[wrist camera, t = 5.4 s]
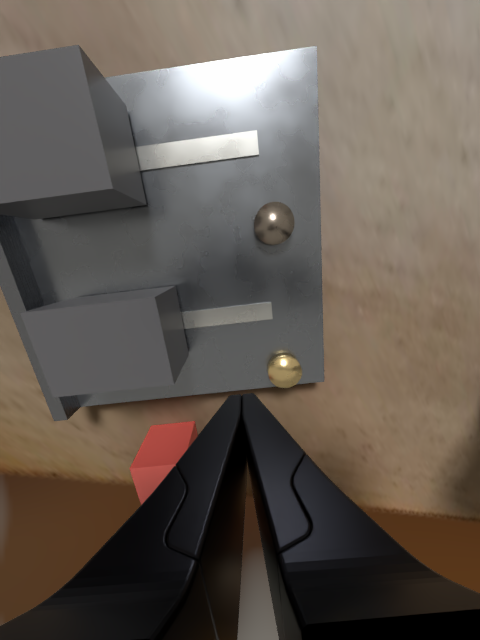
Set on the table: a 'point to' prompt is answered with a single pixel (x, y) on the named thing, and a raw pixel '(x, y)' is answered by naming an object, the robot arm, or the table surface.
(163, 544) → the robot arm
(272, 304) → the breaker panel
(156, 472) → the cap
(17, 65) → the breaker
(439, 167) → the table surface
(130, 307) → the block
